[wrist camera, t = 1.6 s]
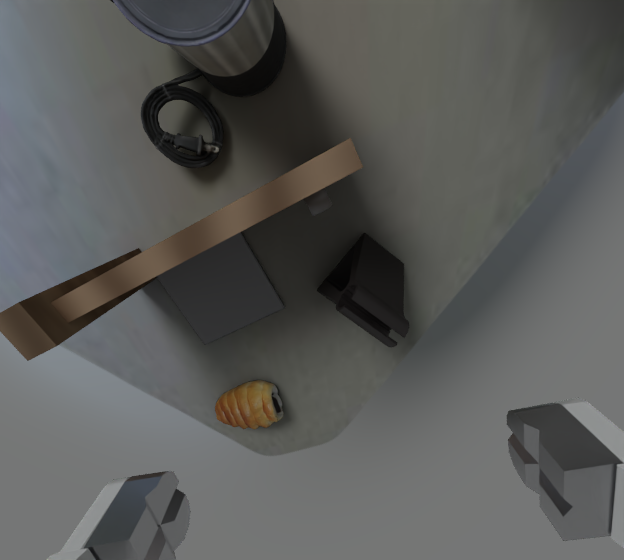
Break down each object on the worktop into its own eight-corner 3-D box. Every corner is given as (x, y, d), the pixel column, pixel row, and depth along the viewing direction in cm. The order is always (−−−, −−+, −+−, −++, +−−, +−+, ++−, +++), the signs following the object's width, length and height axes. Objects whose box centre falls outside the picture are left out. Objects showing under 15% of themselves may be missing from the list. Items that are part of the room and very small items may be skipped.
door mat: (239, 229, 37) (238, 229, 36) (284, 306, 40) (284, 307, 40) (156, 273, 39) (154, 274, 39) (205, 343, 42) (204, 345, 42)
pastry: (227, 423, 47) (219, 445, 43) (210, 387, 45) (200, 406, 41) (287, 410, 46) (284, 431, 42) (273, 372, 44) (268, 390, 40)
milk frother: (285, -19, 29) (253, -190, 15) (294, 164, 34) (276, 164, 20) (133, -11, 30) (-36, -169, 16) (165, 169, 35) (61, 171, 21)
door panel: (334, 139, 33) (346, 118, 18) (354, 183, 35) (380, 197, 20) (118, 259, 38) (-11, 319, 23) (144, 293, 40) (36, 370, 25)
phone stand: (354, 316, 40) (366, 375, 29) (316, 289, 39) (314, 339, 28) (403, 262, 38) (438, 304, 26) (364, 232, 37) (384, 261, 25)
